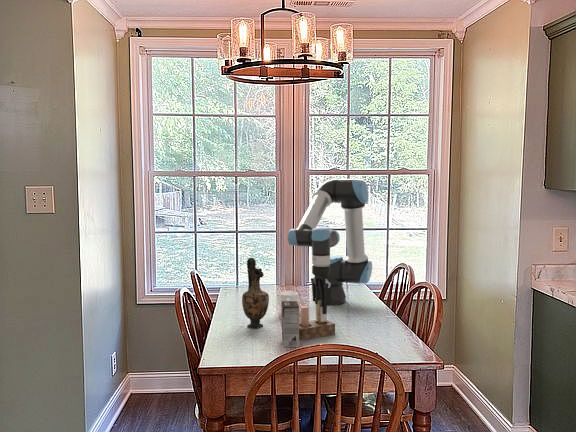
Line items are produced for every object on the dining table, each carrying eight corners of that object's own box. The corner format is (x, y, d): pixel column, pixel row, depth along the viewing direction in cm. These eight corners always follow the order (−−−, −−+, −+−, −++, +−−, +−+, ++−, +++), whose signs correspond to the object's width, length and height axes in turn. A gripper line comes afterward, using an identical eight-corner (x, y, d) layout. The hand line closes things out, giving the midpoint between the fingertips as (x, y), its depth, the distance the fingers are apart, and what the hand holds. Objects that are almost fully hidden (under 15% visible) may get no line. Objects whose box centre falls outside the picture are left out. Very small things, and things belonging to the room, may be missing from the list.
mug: (296, 319, 252) (296, 297, 252) (278, 318, 253) (278, 296, 252) (298, 312, 264) (298, 291, 263) (281, 312, 265) (281, 291, 264)
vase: (248, 331, 234) (247, 262, 231) (237, 324, 245) (236, 258, 242) (273, 327, 239) (272, 259, 237) (261, 320, 250) (260, 255, 247)
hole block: (323, 328, 237) (323, 318, 236) (335, 334, 229) (335, 323, 229) (291, 334, 229) (291, 323, 229) (301, 340, 221) (301, 329, 221)
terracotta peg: (306, 334, 229) (306, 306, 228) (310, 336, 227) (310, 307, 226) (299, 335, 228) (299, 307, 227) (303, 337, 225) (303, 308, 224)
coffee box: (281, 340, 222) (281, 301, 221) (297, 339, 223) (297, 300, 221) (283, 347, 213) (282, 306, 212) (299, 346, 214) (299, 306, 212)
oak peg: (322, 327, 233) (322, 299, 232) (326, 329, 230) (326, 301, 229) (316, 328, 232) (316, 300, 230) (320, 330, 229) (320, 302, 228)
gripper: (303, 263, 234) (304, 317, 236) (323, 268, 220) (323, 326, 222) (319, 261, 237) (319, 314, 239) (339, 267, 223) (339, 323, 225)
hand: (321, 320), depth 231 cm, fingers closed on oak peg, 3 cm apart
